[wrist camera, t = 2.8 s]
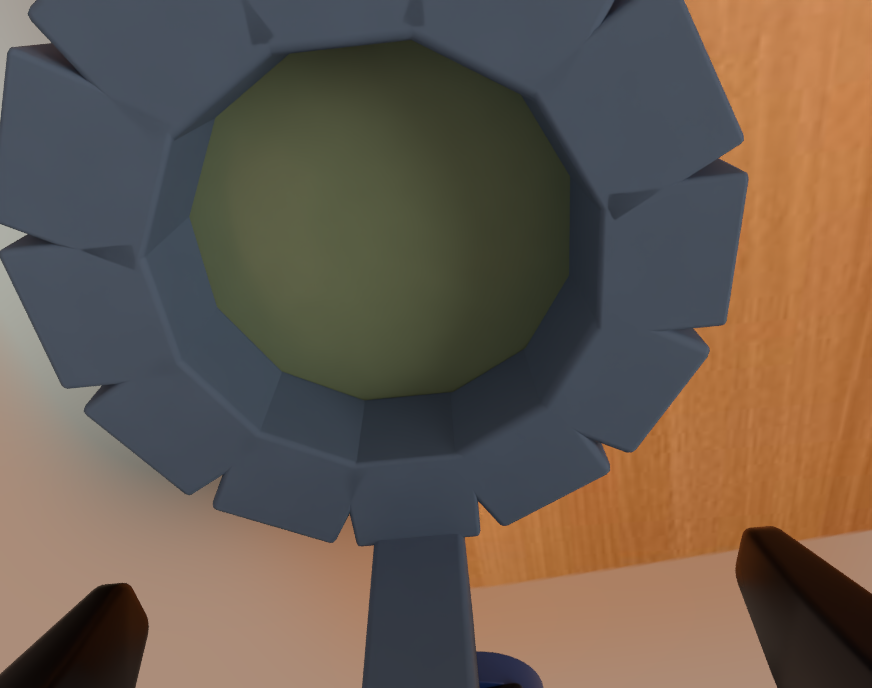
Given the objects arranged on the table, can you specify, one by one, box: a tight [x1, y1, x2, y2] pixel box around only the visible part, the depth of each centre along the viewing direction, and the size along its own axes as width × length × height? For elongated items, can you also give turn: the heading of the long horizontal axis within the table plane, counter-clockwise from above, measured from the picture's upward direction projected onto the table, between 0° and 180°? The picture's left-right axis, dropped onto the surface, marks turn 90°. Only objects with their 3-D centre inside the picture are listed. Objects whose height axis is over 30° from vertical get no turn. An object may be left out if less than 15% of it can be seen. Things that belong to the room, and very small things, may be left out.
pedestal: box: [189, 40, 570, 400], centre depth 12 cm, size 5×5×12 cm
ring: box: [0, 0, 748, 688], centre depth 5 cm, size 9×6×4 cm
